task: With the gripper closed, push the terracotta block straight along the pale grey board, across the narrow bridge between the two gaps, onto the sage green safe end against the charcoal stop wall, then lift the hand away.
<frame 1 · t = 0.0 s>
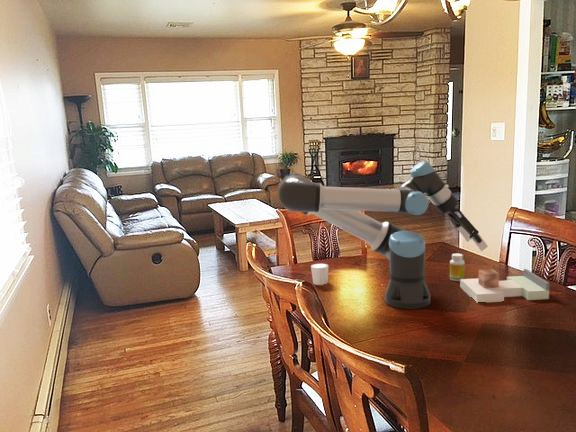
hand: (477, 243, 181), 15 cm above the table, tool tilted 35°, fingers open, 13 cm apart
supplement bottle: (457, 279, 191), on the table
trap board: (502, 292, 174), on the table
block: (488, 285, 174), point 3 cm above the table, touching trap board
white cup: (320, 283, 196), on the table
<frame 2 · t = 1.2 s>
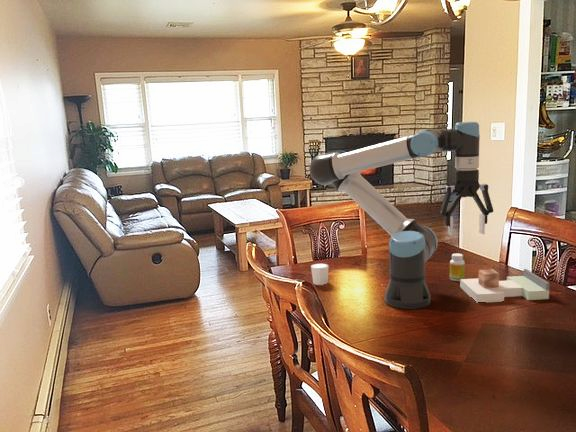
hand: (466, 234, 170), 22 cm above the table, tool pointing down, fingers open, 10 cm apart
nothing on the table moved.
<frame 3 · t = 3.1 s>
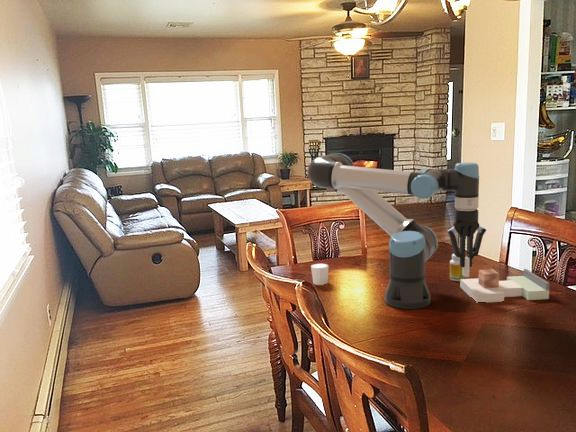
hand: (465, 275, 173), 7 cm above the table, tool pointing down, fingers closed
nothing on the table moved.
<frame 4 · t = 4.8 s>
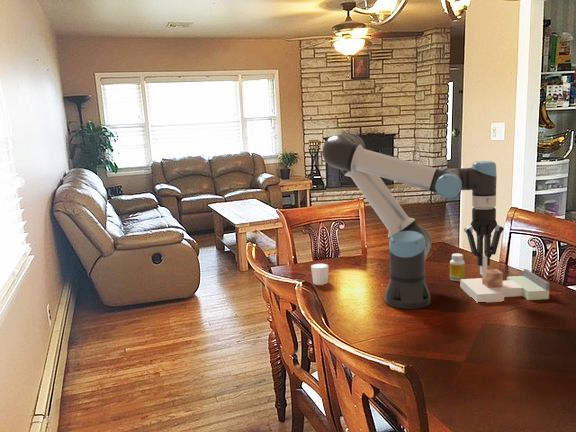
hand: (483, 274, 173), 7 cm above the table, tool pointing down, fingers closed
block: (492, 285, 174), point 3 cm above the table, touching gripper, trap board
everything else where it was.
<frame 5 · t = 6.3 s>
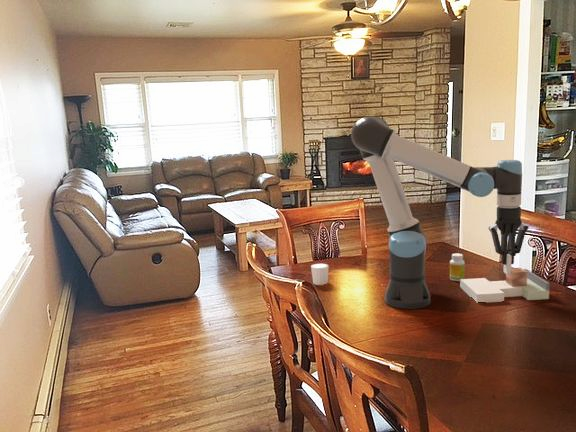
hand: (507, 273, 173), 7 cm above the table, tool pointing down, fingers closed
block: (516, 283, 174), point 3 cm above the table, touching gripper, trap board
everything else where it was.
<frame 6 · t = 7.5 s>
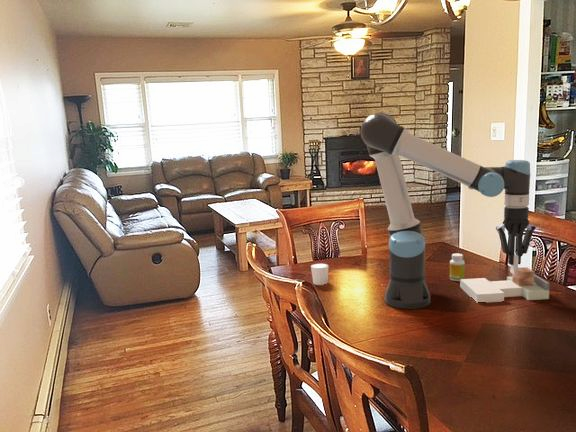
hand: (514, 273, 173), 7 cm above the table, tool pointing down, fingers closed
block: (522, 283, 174), point 3 cm above the table, touching gripper, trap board
everything else where it was.
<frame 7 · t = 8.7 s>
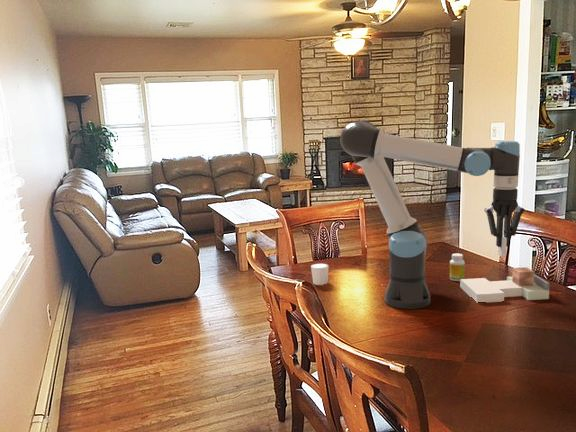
hand: (501, 255, 172), 13 cm above the table, tool pointing down, fingers closed
block: (522, 283, 174), point 3 cm above the table, touching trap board
everything else where it was.
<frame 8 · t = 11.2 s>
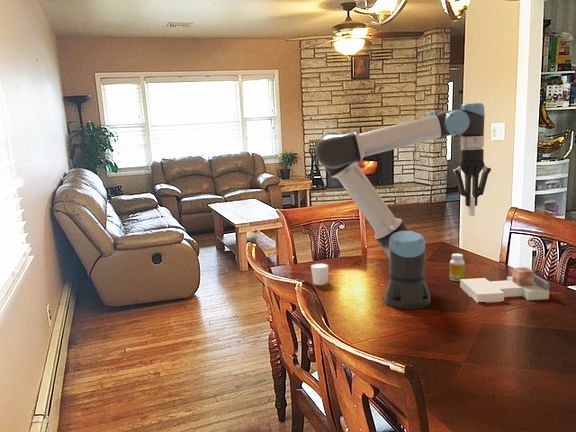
hand: (471, 215, 178), 26 cm above the table, tool pointing down, fingers closed
nothing on the table moved.
at the end: block 1.3 cm from the target spot on the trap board, point 3.0 cm above the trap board's base; block tilted 0° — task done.
